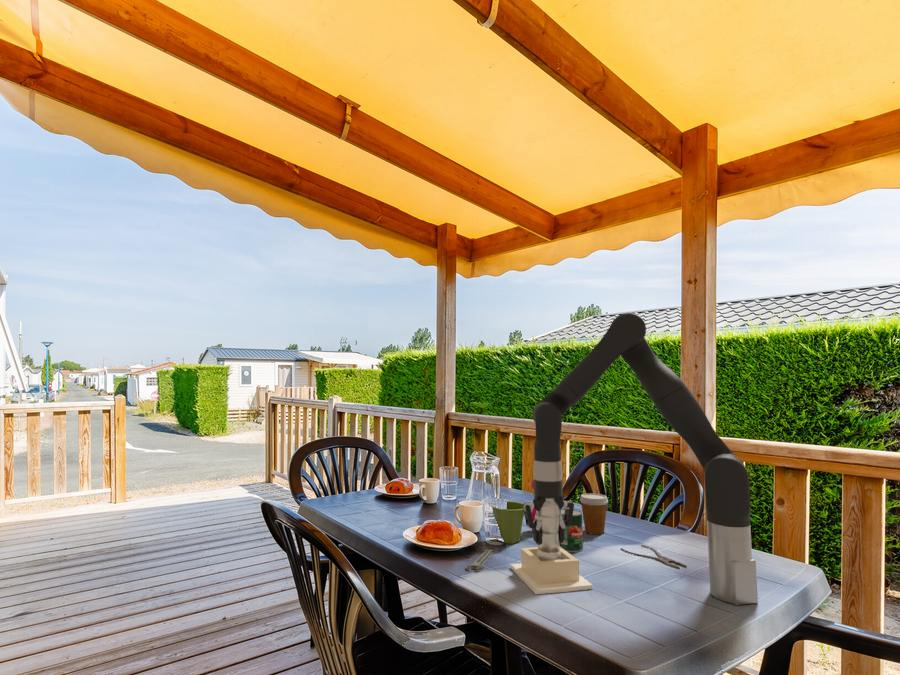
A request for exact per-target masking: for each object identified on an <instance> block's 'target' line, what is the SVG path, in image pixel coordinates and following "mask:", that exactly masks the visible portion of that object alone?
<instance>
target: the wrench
mask: <svg viewBox="0 0 900 675" xmlns="http://www.w3.org/2000/svg"><path fill="white" fill-rule="evenodd" d="M483 551H484V552H483V553H481V555H480V556H479V557H478V558H477V559H476V560H475V561H474V563H471V564H466V570H467V571H469V572H471V570H475V573H480V572H483V571H484V566H483V565H484V564H485V562H486V561H487V560H488V559H489V558H490V557H491V556H492V554H496V553H499V547H497V546H495V547H494V548H491V546H490V545H488V546H484V547H483Z"/></svg>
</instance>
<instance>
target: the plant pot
mask: <svg viewBox="0 0 900 675" xmlns="http://www.w3.org/2000/svg"><path fill="white" fill-rule="evenodd" d="M505 501H506V502H507V509H499V508H496V507H493V506H492V503H490V507H491V508H492V513H493V517H494V516H495V518H494V520H495V519H496V521H497V524H498V527H499V530H500V533H501V534H500V535H501V537H502V538H503V540H504V542H505V543H504V544H511V545H512V544H513V545H514V544H516V543H519V542H520V541H521V535H522V528H523V522H524V518H525V515H524V510H523V504H524V503H523V502H518V501H513V500H512V501H511V500H505Z"/></svg>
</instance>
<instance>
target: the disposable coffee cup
mask: <svg viewBox="0 0 900 675" xmlns="http://www.w3.org/2000/svg"><path fill="white" fill-rule="evenodd" d="M579 501H580V504H581V510H582V511H581V512H582V520H583V523H584V531H586V532H585V533H587V532H588V533H587V534H589V533H592V534H591V535H603V534H605V526H606V517H607V505H608V503H609V500H608V497H607V495H605V494H602V493H583V494H581V495H580V498H579ZM602 533H603V534H602Z"/></svg>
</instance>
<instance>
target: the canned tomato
mask: <svg viewBox="0 0 900 675" xmlns="http://www.w3.org/2000/svg"><path fill="white" fill-rule="evenodd" d="M564 513H565V509H564V508H562V509H561V515H562V518H563V520H564ZM564 534H565V539H564V541H563V543H560V547H561V548H563V549H564V550H565V551H567V552H568V553H579V552H582V551H583V550H584V544H583V543H584V538H583V512H582V511H581V510H578V509H574V510H573V517H572V524H571V525H570V526H566V527H565V529H564Z"/></svg>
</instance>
